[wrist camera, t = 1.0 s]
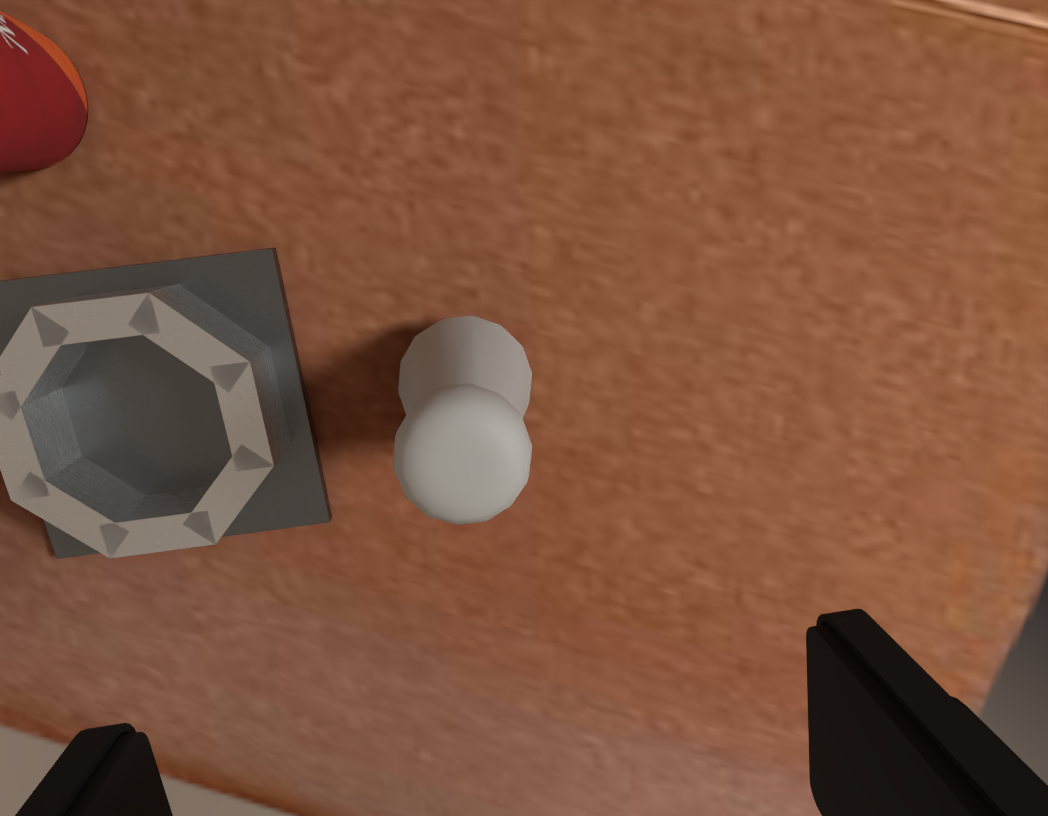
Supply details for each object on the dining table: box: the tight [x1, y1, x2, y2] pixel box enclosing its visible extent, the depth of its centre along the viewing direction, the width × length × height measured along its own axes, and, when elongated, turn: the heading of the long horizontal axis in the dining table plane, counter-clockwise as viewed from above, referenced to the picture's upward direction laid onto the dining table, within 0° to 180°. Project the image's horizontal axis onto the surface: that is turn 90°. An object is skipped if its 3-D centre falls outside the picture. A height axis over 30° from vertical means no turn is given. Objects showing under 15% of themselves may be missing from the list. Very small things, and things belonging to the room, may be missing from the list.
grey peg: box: [393, 315, 532, 525], centre depth 27 cm, size 6×6×13 cm
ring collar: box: [0, 248, 332, 559], centre depth 31 cm, size 13×13×4 cm
